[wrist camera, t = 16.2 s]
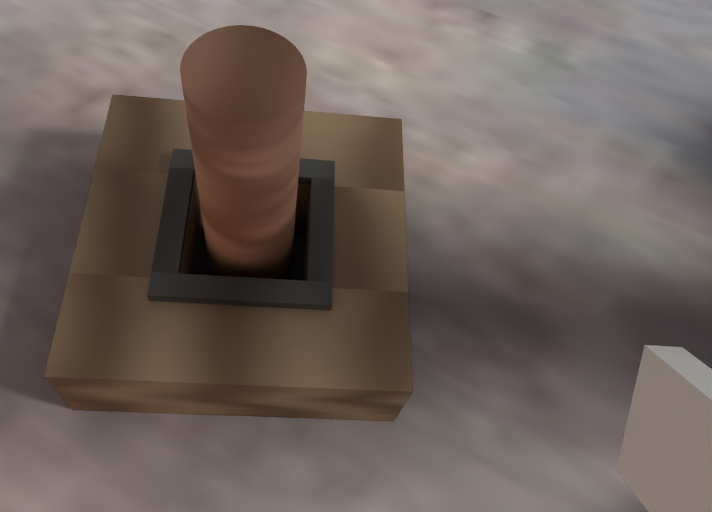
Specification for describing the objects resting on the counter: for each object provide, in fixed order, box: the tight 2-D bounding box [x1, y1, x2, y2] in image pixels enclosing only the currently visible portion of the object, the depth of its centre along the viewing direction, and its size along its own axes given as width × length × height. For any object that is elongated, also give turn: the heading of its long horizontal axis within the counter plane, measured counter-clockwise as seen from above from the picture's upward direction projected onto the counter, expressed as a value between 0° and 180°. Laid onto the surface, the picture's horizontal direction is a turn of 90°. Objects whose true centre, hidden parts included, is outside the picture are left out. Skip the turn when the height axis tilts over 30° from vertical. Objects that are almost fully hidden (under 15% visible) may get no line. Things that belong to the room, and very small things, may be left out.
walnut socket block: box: [44, 95, 413, 421], centre depth 35 cm, size 16×16×6 cm
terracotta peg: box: [180, 25, 307, 280], centre depth 30 cm, size 4×4×16 cm
